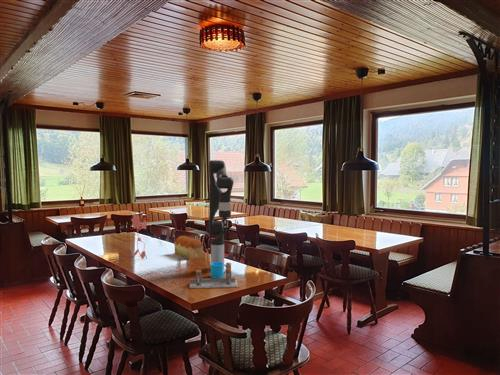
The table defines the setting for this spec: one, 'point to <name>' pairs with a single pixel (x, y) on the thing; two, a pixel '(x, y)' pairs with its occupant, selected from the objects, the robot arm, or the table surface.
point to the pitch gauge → (211, 282)
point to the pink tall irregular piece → (136, 224)
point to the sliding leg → (228, 271)
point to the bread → (188, 247)
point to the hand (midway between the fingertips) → (224, 235)
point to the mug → (217, 270)
